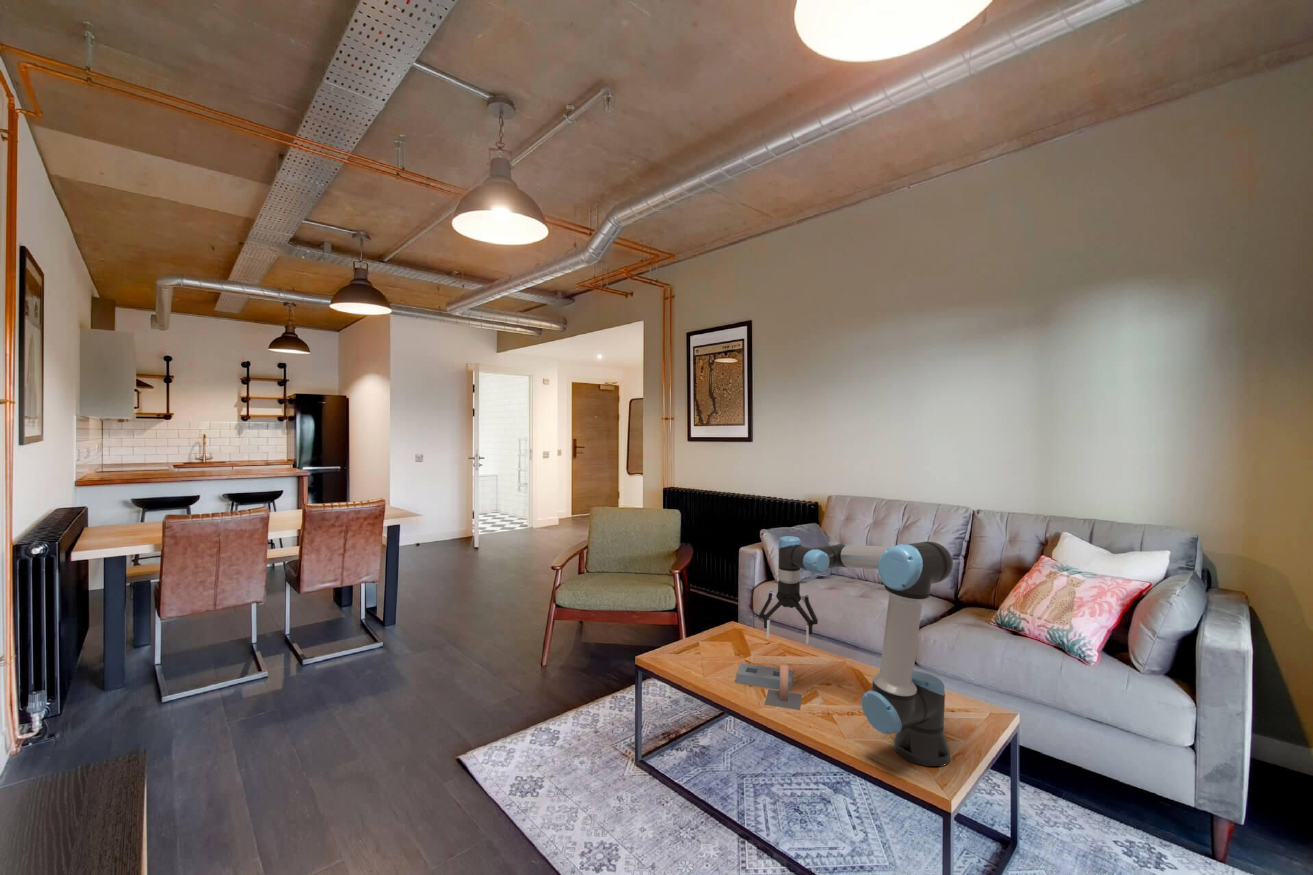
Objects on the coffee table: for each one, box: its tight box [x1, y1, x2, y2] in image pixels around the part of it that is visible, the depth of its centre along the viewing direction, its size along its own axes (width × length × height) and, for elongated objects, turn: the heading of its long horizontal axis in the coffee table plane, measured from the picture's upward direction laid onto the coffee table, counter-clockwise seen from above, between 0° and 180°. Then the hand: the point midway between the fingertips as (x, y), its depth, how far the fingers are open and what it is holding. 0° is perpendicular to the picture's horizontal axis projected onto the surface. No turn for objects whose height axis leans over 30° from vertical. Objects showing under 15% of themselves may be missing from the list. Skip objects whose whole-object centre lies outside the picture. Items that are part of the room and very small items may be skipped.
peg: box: [778, 663, 790, 701], centre depth 199 cm, size 3×3×12 cm
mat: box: [764, 688, 803, 711], centre depth 199 cm, size 12×12×1 cm
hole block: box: [735, 662, 794, 693], centre depth 213 cm, size 10×20×4 cm, turn 72°
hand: (787, 640), depth 199 cm, fingers open, 13 cm apart
